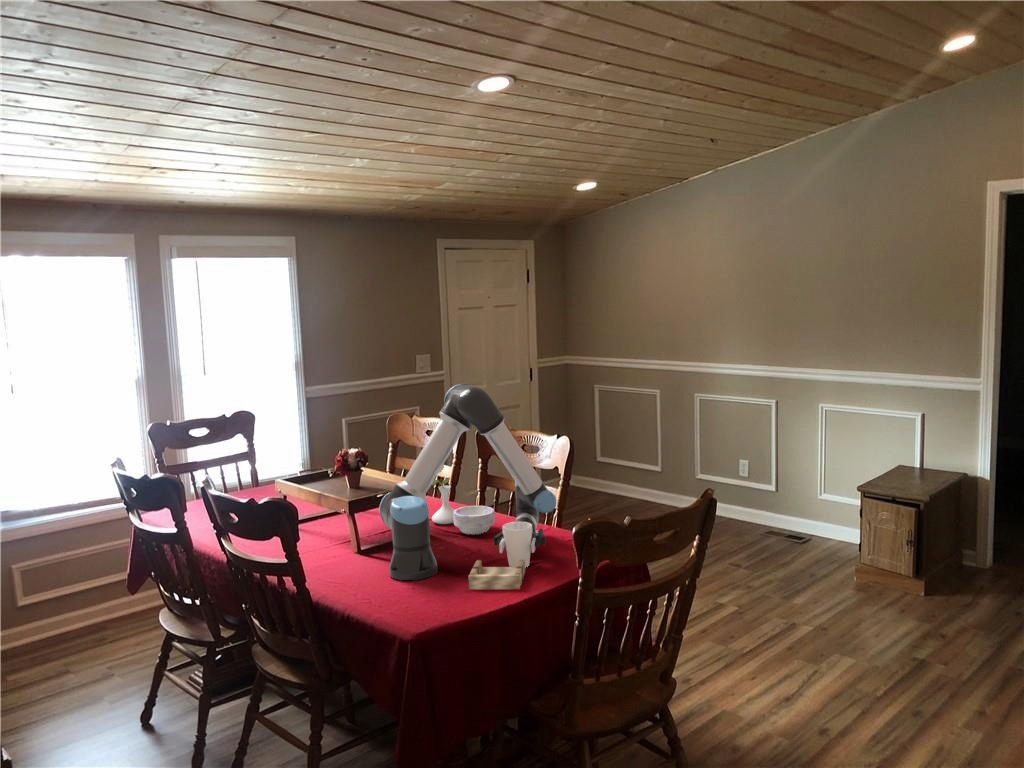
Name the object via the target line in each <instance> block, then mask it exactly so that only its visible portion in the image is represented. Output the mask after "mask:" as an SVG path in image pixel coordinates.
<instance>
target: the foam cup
mask: <svg viewBox="0 0 1024 768" xmlns="http://www.w3.org/2000/svg"><path fill="white" fill-rule="evenodd" d="M501 527H502V529H501V531H502V530H503V535H504V540H505V550H506V555H507V562H508V565H509V566H508V567H517V566H518V563H519V560H524V562H525V569H527V568H528V566H530V563H531V562H530V559H531V552H532V550H531V543H532V542H531V538H532V532H533V530H532V524H531V523H528V522H515V521H511V522H507V523H504V524H503V525H502V526H501ZM526 567H527V568H526Z"/></svg>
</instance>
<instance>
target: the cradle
mask: <svg viewBox="0 0 1024 768" xmlns="http://www.w3.org/2000/svg"><path fill="white" fill-rule="evenodd" d="M525 573H526V568H525V562H524V560H519V563H518V566H517V567H510V566H483V565H482V560H481V559H477V560H476V561H475V563H474V565H473V567H471V569H470V573H469V574H468V577H467V578H468V589H469V590H520V589H521V587H520V586H522V583H523V581H524V576H525ZM522 580H523V581H522Z"/></svg>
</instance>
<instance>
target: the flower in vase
mask: <svg viewBox="0 0 1024 768" xmlns="http://www.w3.org/2000/svg"><path fill="white" fill-rule="evenodd" d="M444 464H445V463H444ZM444 464H443V466H442V467H441V469H440V471H439V472H438V474H439V473H442V472H443V470H444V468H445V465H444ZM450 480H451V477H450V476H449V477H447V478H445V479H443V480H442V481H441V482H440V480H439V478H438V476H436V479H434V481H433V482H432V484H431V486H435V485H436V484H438V483H439V485H441V486H438V490H439V491H440V494H441V498H442V505H441V507H440V508H439V509H438V510H437V511H436V512H435V513H434V514H433V515H432V516H431V520H432V522H434V523H435V524H439V525H447V524H454V519H453V518H454V516H453V512H454V510H455V509H454V508H453V507H451V505H450V503H449V495H450V489H451V488H452V486H451V485H445V484H447V483H448V482H449V481H450Z"/></svg>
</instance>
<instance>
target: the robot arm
mask: <svg viewBox="0 0 1024 768" xmlns="http://www.w3.org/2000/svg"><path fill="white" fill-rule="evenodd" d="M443 399H444V400H443V406H442V408H441V409H440V411H439V417H440V419H439V420H438V423H437V425H436V426H435V427H434V430H433V431H432V433H431V434H430V436H429V438H428V439H427V440H426V442H425V444H424V446H423V447H422V449H421V451H420V452H419V454H418V456H417V457H416V459H415V460H414V462H413V464H412V466H411V467H410V469H409V470H408V473H406V476H405V477H404V479H403V480H402V481H399V482H396V483H395V485H394V486H393V488H392V490H391V491H390V492H388V493H386V494H385V495H384V496H383V497H382V499H381V501H380V504H379V506H378V507H379V508H378V510H379V516H380V519H381V521H382V522H383V523H384V525H385V526H387V527H388V528H389V529H390V530H391V534H392V535H391V536H392V547H393V548H392V549H393V550H392V556H391V560H390V563H389V568H388V570H389V571H388V572H389V573H388V574H389V577H390V576H391V577H392V578H391V577H390V578H391V579H393V578H395V579H394V580H396V579H399V580H398V581H402V580H413V581H420V580H424V579H423V578H425V579H428V578H431V577H433V576H434V575H436V574H437V573H438V570H439V568H438V562H437V560H436V557H435V555H434V553H433V550H432V547H431V535H430V534H431V532H430V519H429V518H430V517H429V514H430V511H429V506H428V502H427V500H428V499H427V496H426V494H427V493H428V491H429V490H430V488H431V486H432V485H431V484H432V482H433V481H434V480H436V478H437V477H438V475H439V473H438V472H439V471H440V469H441V467H442V466H443V464H445V462H446V460H447V459H448V457H449V456H450V454H451V452H452V451H453V449H454V448H455V446H456V444H457V442H458V440H459V439H460V437H461V435H462V434H463V433H464V432H467V431H470V429H471V428H472V426H473V427H474V428H475V430H477V433H478V434H479V435H481V436H484V437H485V438H486V440H487V442H488V443H489V445H490V446H491V447H492V449H493V451H495V453H496V455H497V456H498V458H499V459H500V461H501V462H502V463H503V465H504V467H505V468H506V470H507V471H508V473H509V474H510V476H511V477H512V479H513V480H514V490H515V502H516V503H515V505H516V506H515V507H516V508H515V509H516V511H515V512H516V518H515V521H514V522H528V523H531V524H532V530H533V532H532V538H531V554H533V553H535V551H536V548H540V546H541V545H542V546H545V545H546V536H545V534H544V529H543V528H539V529H537V525H538V524H539V522H540V513H541V514H548V513H549V514H550V513H551V512H553V511H554V509H555V507H556V506H557V497H556V495H555V494H554V493H553V492H552V491H551V490H549V489H548V488H547V486H546V485H545V483H544V482H543V480H542V478H541V477H540V476H539V474H538V472H537V471H536V470H535V468H534V467H533V465H532V463H531V462H530V461H529V459H528V457H527V456H526V454H525V453H524V452H523V450H522V449H521V447H520V445H519V444H518V442H517V441H516V439H515V437H514V436H513V435H512V433H511V431H510V430H509V428H508V426H507V425H506V424H505V423H504V422H505V416H504V415H503V414H502V412H501V411H500V409H499V407H498V405H497V404H496V402H495V401H494V398H492V396H491V395H490V394H489V393H488V391H487V390H485V389H484V388H482V387H479V386H475V385H471V384H469V383H459V384H455V385H453V386H452V387H450V388H449V389H448V391H447V392H446V393H445V395H444V398H443ZM539 512H540V513H539ZM536 529H537V530H536ZM493 545H494V546H497V548H498V549H499V554H503V551H504V550H505V548H506V546H505V540H504V535H503V530H502V529H501V531H500V532H499V533H498V534H496V535H495V536H494V537H493ZM427 577H428V578H427ZM419 579H420V580H419Z"/></svg>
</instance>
